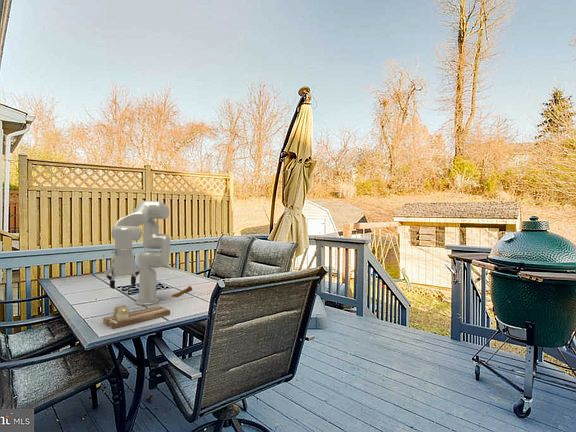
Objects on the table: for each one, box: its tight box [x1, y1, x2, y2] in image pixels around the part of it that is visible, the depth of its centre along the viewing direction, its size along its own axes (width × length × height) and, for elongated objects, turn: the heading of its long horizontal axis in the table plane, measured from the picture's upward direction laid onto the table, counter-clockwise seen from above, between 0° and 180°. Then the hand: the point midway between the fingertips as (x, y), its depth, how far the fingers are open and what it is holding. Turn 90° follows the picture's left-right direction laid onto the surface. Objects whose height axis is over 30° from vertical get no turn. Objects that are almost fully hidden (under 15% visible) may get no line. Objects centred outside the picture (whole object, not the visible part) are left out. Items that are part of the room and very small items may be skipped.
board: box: [102, 305, 171, 330], centre depth 163 cm, size 12×29×3 cm, turn 141°
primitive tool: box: [170, 285, 193, 298], centre depth 216 cm, size 19×6×4 cm, turn 167°
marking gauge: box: [113, 304, 130, 322], centre depth 155 cm, size 8×5×6 cm, turn 51°
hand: (123, 286), depth 156 cm, fingers open, 9 cm apart
